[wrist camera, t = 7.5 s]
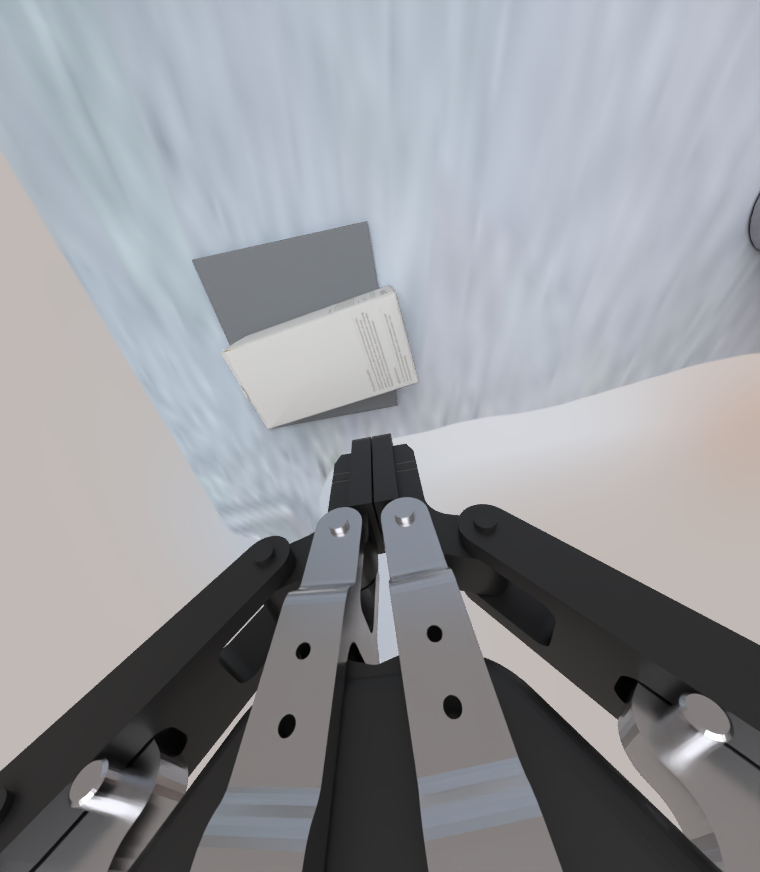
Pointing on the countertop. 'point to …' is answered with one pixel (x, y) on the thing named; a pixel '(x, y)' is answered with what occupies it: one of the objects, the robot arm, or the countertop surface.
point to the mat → (292, 287)
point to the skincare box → (325, 358)
